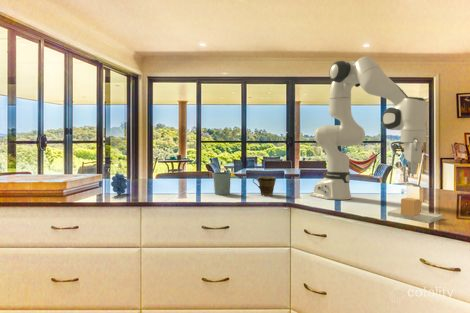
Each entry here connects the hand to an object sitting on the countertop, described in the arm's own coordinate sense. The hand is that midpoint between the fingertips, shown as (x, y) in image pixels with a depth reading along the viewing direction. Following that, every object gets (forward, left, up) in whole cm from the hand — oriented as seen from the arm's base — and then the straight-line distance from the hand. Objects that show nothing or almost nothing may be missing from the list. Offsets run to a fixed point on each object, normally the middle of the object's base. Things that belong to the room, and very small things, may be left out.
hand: (411, 172), depth 126 cm
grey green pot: (-91, -26, -18) cm, 96 cm away
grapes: (-121, -73, -18) cm, 143 cm away
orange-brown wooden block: (0, 0, -17) cm, 17 cm away
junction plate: (0, +4, -18) cm, 19 cm away
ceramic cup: (-74, -9, -18) cm, 77 cm away
